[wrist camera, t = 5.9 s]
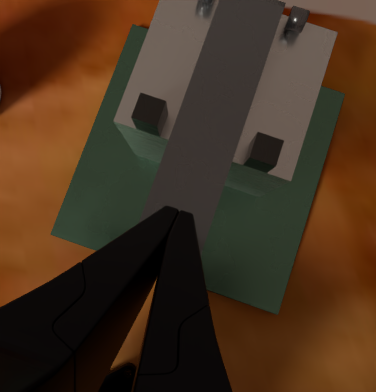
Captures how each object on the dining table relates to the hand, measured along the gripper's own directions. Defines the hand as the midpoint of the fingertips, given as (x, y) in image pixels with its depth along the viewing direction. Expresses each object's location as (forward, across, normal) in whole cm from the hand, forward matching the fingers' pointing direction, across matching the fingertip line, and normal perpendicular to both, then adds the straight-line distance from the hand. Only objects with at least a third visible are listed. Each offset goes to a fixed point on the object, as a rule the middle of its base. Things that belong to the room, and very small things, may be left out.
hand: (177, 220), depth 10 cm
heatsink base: (+13, +1, +6) cm, 14 cm away
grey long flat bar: (+7, 0, 0) cm, 7 cm away
